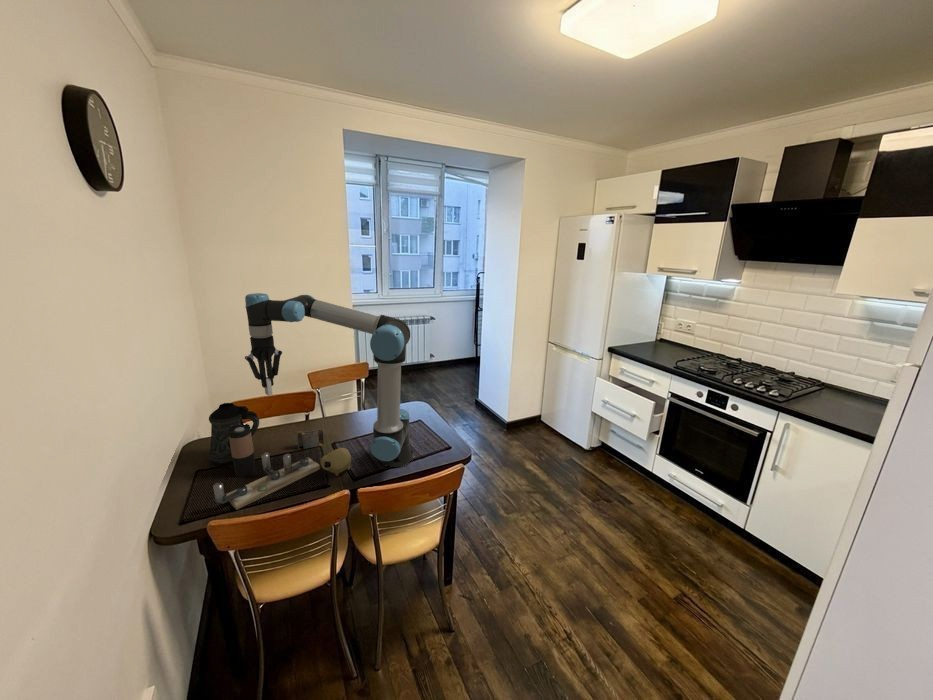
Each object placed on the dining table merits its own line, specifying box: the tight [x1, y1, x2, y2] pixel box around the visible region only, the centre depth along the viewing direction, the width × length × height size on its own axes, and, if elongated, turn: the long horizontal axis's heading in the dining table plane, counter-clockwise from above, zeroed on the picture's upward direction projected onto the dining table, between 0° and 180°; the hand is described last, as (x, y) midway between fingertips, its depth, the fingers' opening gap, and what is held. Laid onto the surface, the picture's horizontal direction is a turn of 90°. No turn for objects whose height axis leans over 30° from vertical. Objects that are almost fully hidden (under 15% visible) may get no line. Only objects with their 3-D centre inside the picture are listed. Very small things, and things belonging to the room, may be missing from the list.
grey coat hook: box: [282, 453, 309, 472], centre depth 148 cm, size 10×3×8 cm, turn 145°
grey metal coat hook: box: [212, 482, 248, 505], centre depth 129 cm, size 10×3×8 cm, turn 144°
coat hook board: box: [225, 456, 321, 511], centre depth 143 cm, size 9×32×3 cm, turn 142°
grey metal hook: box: [260, 451, 280, 480], centre depth 143 cm, size 10×3×8 cm, turn 52°
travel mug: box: [228, 423, 257, 478], centre depth 146 cm, size 8×8×20 cm
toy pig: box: [319, 447, 352, 476], centre depth 150 cm, size 10×12×11 cm
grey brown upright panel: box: [296, 428, 326, 451], centre depth 168 cm, size 11×3×10 cm, turn 114°
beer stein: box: [207, 402, 260, 469], centre depth 156 cm, size 16×19×25 cm
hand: (268, 394), depth 141 cm, fingers closed
